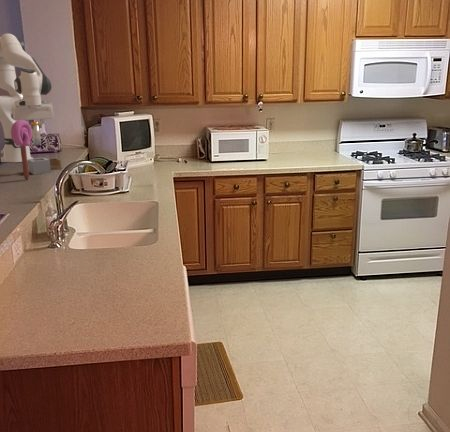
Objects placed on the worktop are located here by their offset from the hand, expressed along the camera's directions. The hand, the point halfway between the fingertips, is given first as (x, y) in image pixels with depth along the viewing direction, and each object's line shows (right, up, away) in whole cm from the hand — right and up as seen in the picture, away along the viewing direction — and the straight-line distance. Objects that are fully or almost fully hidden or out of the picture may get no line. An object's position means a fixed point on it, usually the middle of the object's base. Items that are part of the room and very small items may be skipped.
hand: (35, 128), depth 262 cm
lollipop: (0, -28, -12) cm, 31 cm away
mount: (+4, -20, +16) cm, 26 cm away
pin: (0, -8, +2) cm, 9 cm away
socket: (0, -23, +7) cm, 24 cm away
